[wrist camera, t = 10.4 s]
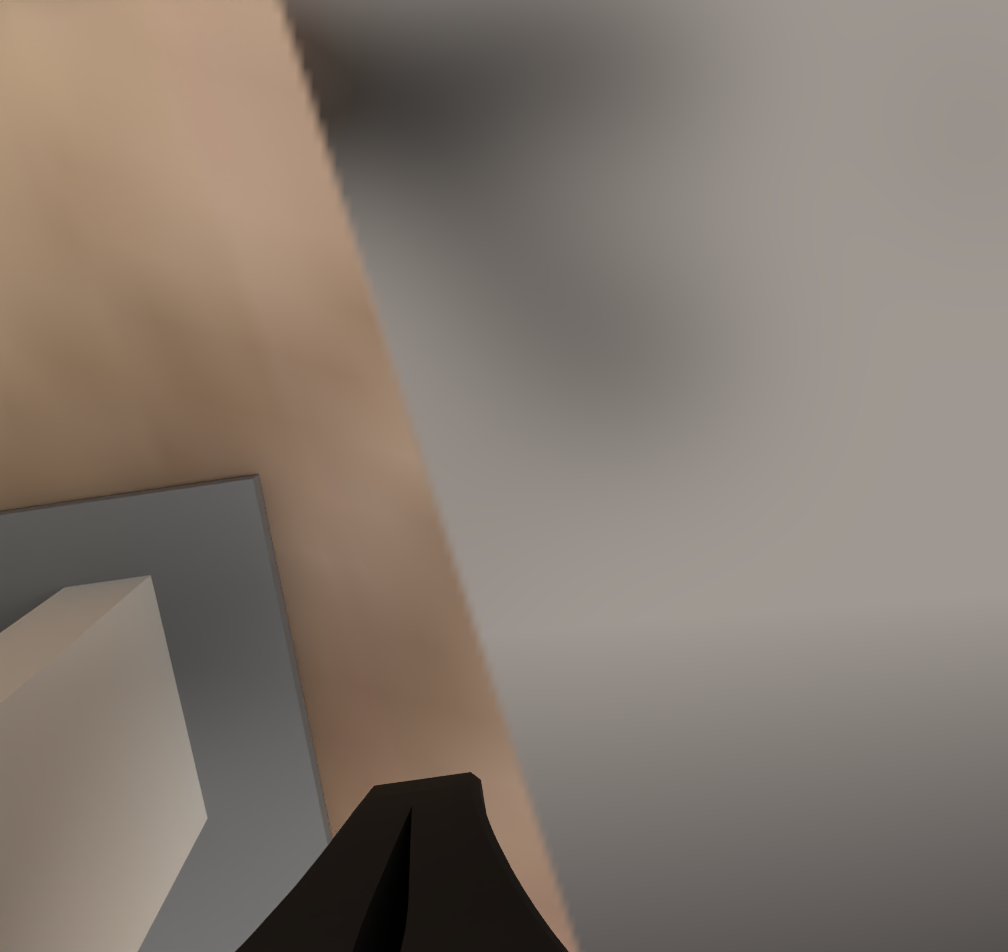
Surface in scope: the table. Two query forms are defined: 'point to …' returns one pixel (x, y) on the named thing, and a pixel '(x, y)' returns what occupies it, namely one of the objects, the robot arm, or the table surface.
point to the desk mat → (201, 682)
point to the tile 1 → (91, 772)
